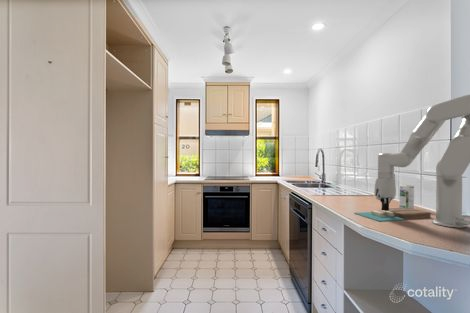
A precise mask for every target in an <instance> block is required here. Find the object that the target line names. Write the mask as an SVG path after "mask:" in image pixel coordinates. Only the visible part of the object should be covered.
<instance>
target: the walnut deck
mask: <svg viewBox="0 0 470 313" xmlns="http://www.w3.org/2000/svg"><path fill="white" fill-rule="evenodd" d="M380 210H382V208H381V209H380ZM389 211H390V212H394V216H395V217H398V218H402V219H405V220H407V219H410V220H411V219H427V218H429V219H430V218H431V214H432V213H431V212H428V211H424V210H419V209H416V208H414V209H411V208H399V207H396V208H390V207H389Z"/></svg>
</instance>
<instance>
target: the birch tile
mask: <svg viewBox="0 0 470 313" xmlns="http://www.w3.org/2000/svg"><path fill="white" fill-rule="evenodd" d="M370 212H371V214H372V215H375V216H378V217H390V216H394V212H390V211H384V210H381V209H380V210H370Z"/></svg>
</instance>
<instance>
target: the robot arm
mask: <svg viewBox="0 0 470 313" xmlns="http://www.w3.org/2000/svg"><path fill="white" fill-rule="evenodd" d="M456 118H461V124H460V125H459V126H458V129H457V131H456V133H455V134H454V136H453V138H452V139H451V140H449V143H448V146H447V147H446V150H445V152H444V154H443V156H442V157H441V159H440V160H439V161H438V162H437V164H436V167H435V176H436V178H435V179H436V184H435V185H436V190H435V192H436V193H435V218H433V219H432V220H431V223H432V224H435V225H439V226H442V227H448V228H459V229H460V228H466V227H467V226H470V220H467V219H465V216H463V174H464V173H465V172H466V170H467V168H468V167H469V165H470V94H465V95H462V96H458V97H456V98H453V99H449V100H447V101H443V102H439V103H436V104H433V105H431V106H430V107H429V108H428V109H427V110H426V114H425V115H423V117H422V119H421V120H420V122H419V123H418V125H416V127H415V128H414V129H413V131H412V132H411V133H410V136H409V137H408V141H407V142H406V144H405V145H404V146H403V147H402V149H401V150H400V152H397V153H389V152H387V153H386V152H385V153H384V152H381V153H378V155H377V178H376V179H375V183H374V189H373V190H374V197H376V198H375V199H376V200H379V201H380V203H381V209H382V210H384V211H389V208H390V204H391V202H392V201H393V200H395V198H396V195H397V188H396V187H397V186H396V180H395V167H396V168H407V167H409V166H410V165H411V164H412V163H413V162H414V160H415V159H416V158H417V156H419V154H420V153H421V151H422V150H423V149H424V148H425V147H426V146H427V145H428V144H429V142H430V141H431V140H432V138H433V137H434V136H435V135H436V133H437V132H438V131H439V130H440V129H441V127H442V126H443V125H444V124H445V122H446V121H448V120H453V119H456Z"/></svg>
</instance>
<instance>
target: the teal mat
mask: <svg viewBox="0 0 470 313" xmlns="http://www.w3.org/2000/svg"><path fill="white" fill-rule="evenodd" d="M354 214H355V215H358V216H361V217H363V218H367V219H370V220H373V221H376V222H392V221H394V222H396V221H406V219H402V218H398V217H395V216H390V217H378V216H375V215H372V214H371V211H369V212H368V211H367V212H366V211H365V212H354Z"/></svg>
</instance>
